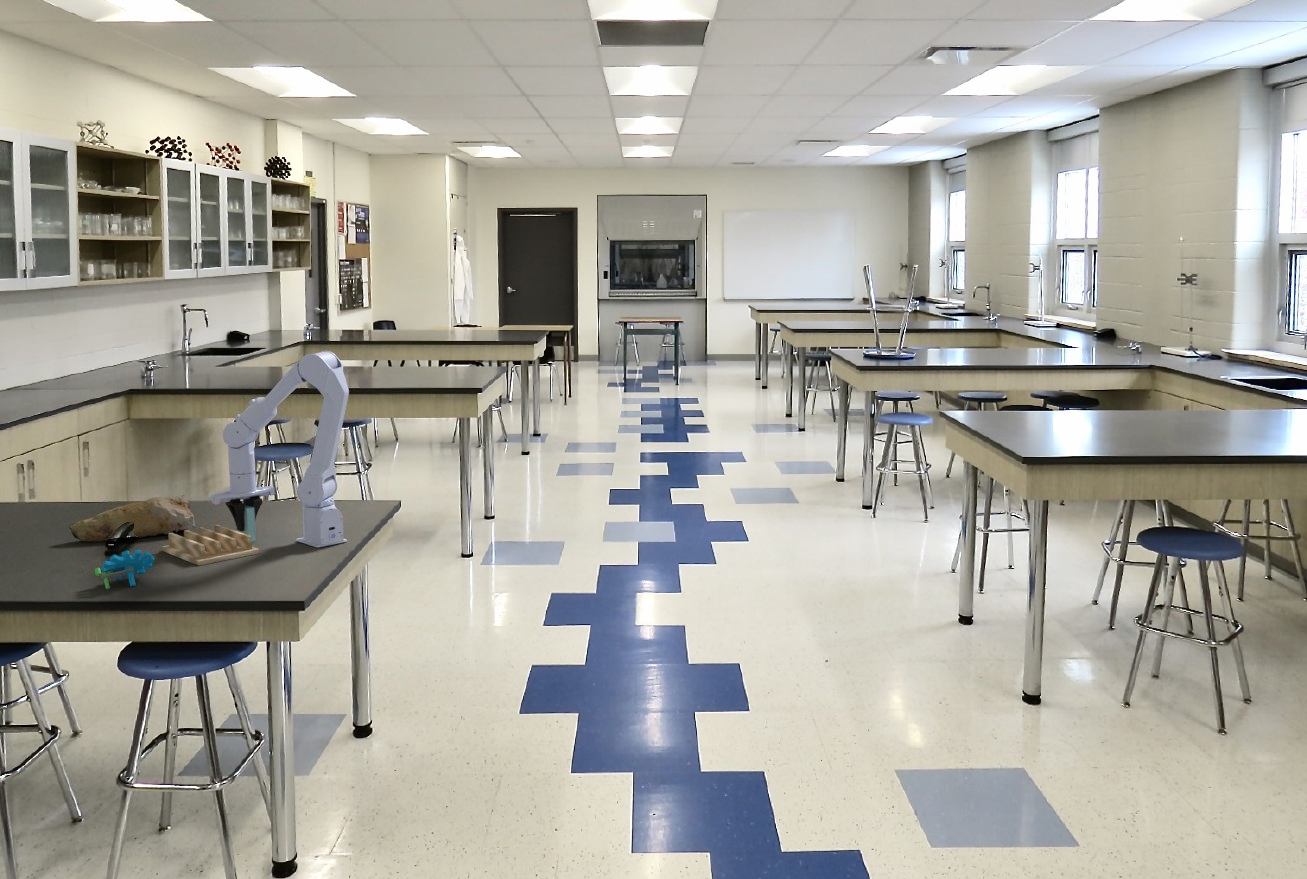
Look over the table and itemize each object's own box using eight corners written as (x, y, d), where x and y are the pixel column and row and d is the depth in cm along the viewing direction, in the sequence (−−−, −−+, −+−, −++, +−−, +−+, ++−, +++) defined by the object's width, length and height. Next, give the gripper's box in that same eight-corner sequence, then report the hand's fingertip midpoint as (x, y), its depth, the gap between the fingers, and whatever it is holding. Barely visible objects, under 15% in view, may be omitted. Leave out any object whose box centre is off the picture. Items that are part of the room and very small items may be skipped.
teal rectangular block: (256, 541, 261) (254, 507, 260) (248, 542, 260) (246, 508, 259) (243, 536, 265) (241, 503, 264) (236, 538, 264) (234, 504, 263)
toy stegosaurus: (155, 566, 233) (151, 542, 226) (161, 590, 231) (157, 566, 223) (97, 580, 229) (90, 556, 221) (103, 605, 226) (96, 581, 218)
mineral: (67, 512, 253) (65, 510, 262) (73, 552, 254) (71, 549, 262) (191, 492, 266) (186, 491, 275) (197, 530, 267) (192, 528, 275)
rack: (259, 553, 250) (258, 535, 250) (198, 565, 240) (197, 547, 240) (221, 539, 263) (220, 522, 262) (162, 550, 252) (160, 533, 252)
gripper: (262, 466, 268) (265, 521, 270) (204, 474, 258) (207, 531, 260) (277, 469, 263) (280, 526, 266) (218, 478, 253) (222, 537, 255)
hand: (245, 529), depth 262 cm, fingers closed on teal rectangular block, 2 cm apart
